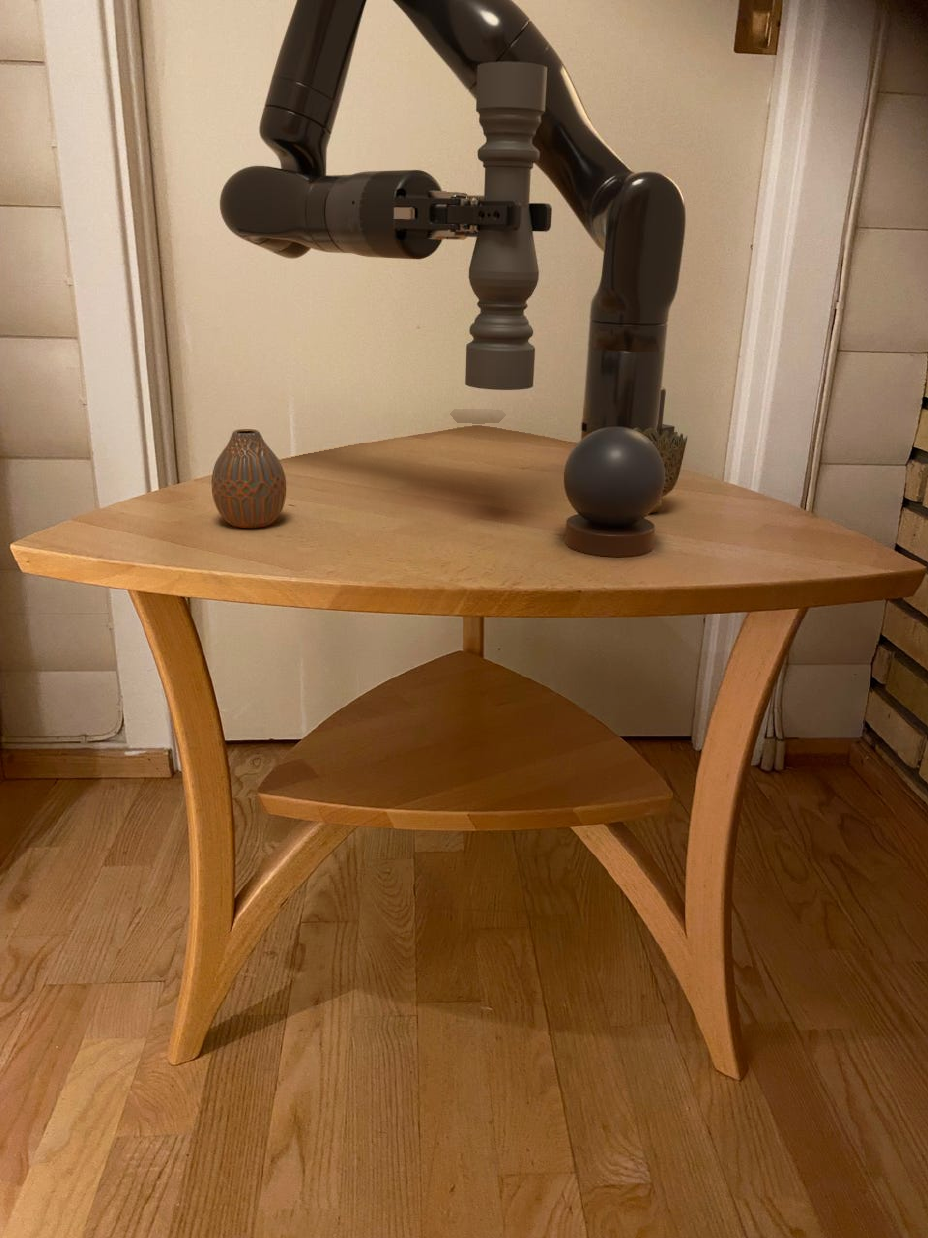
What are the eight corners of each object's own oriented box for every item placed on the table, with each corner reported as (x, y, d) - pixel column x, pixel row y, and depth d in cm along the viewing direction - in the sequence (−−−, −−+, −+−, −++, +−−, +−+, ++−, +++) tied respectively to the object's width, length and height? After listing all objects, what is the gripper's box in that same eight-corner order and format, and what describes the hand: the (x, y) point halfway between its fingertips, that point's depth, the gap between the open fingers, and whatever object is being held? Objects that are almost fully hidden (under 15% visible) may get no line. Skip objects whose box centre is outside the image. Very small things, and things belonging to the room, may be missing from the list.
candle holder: (528, 391, 83) (545, 60, 74) (458, 387, 84) (466, 60, 75) (537, 381, 89) (555, 73, 79) (472, 378, 90) (481, 73, 80)
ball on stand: (605, 525, 94) (613, 415, 90) (678, 547, 88) (691, 430, 84) (539, 540, 89) (545, 424, 85) (612, 565, 82) (623, 440, 78)
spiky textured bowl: (635, 523, 95) (642, 442, 92) (592, 505, 101) (598, 429, 98) (694, 515, 98) (703, 437, 95) (649, 499, 104) (656, 425, 101)
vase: (300, 518, 94) (297, 428, 91) (264, 536, 88) (259, 440, 85) (239, 510, 96) (233, 422, 93) (199, 527, 90) (192, 434, 87)
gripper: (327, 165, 83) (481, 160, 73) (436, 175, 93) (584, 172, 83) (330, 257, 86) (478, 265, 76) (435, 257, 96) (578, 264, 86)
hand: (533, 216), depth 80 cm, fingers closed on candle holder, 3 cm apart
